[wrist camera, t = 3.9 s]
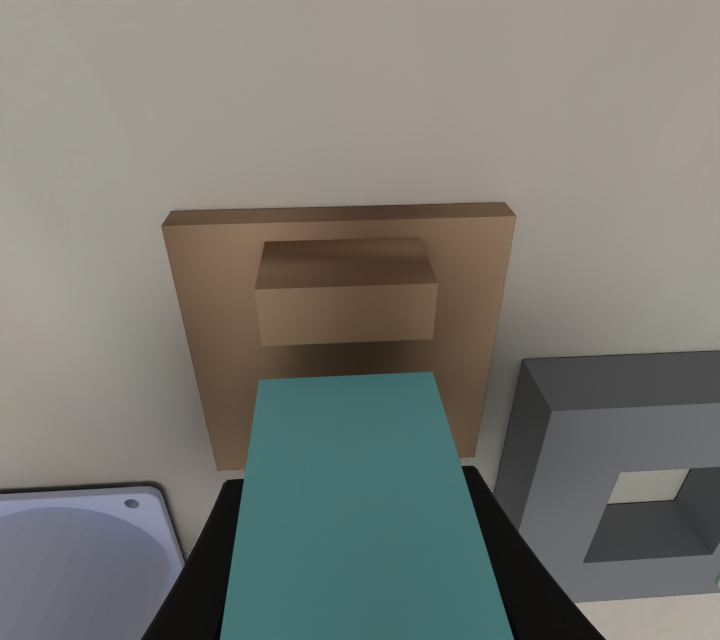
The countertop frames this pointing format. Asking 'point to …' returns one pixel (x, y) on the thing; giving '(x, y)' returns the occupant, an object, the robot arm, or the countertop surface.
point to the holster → (338, 303)
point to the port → (616, 472)
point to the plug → (358, 519)
